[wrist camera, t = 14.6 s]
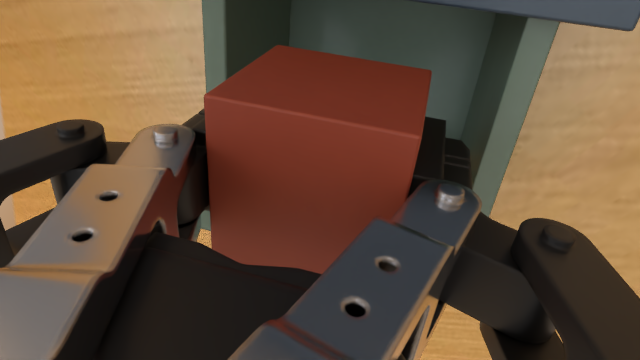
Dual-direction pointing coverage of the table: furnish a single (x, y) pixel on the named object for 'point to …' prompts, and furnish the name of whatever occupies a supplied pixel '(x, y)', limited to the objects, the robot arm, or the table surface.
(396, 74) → the block
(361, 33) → the drawer
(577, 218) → the table surface
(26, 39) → the table surface
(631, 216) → the table surface
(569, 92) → the table surface
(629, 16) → the cabinet
